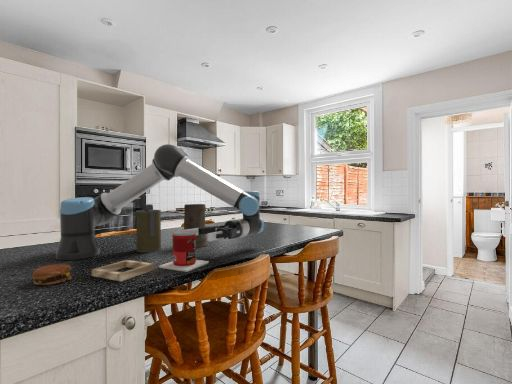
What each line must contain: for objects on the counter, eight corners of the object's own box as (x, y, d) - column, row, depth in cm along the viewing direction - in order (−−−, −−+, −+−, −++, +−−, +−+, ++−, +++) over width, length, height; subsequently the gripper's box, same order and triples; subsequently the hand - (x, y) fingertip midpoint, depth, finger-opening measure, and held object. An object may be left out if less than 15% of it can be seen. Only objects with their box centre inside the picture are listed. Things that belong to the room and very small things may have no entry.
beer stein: (204, 248, 128) (204, 203, 129) (180, 248, 128) (180, 203, 129) (210, 243, 143) (210, 204, 144) (189, 243, 143) (189, 204, 145)
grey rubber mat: (158, 267, 97) (158, 265, 97) (182, 259, 108) (182, 258, 108) (187, 271, 92) (187, 269, 92) (208, 262, 102) (208, 261, 102)
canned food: (190, 266, 95) (190, 234, 95) (168, 265, 97) (168, 233, 96) (199, 261, 103) (199, 230, 102) (179, 260, 104) (178, 230, 104)
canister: (133, 249, 127) (133, 204, 126) (157, 246, 133) (157, 203, 133) (139, 253, 118) (139, 205, 118) (164, 250, 124) (164, 204, 124)
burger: (34, 280, 85) (34, 264, 85) (71, 274, 90) (71, 260, 90) (30, 289, 77) (30, 272, 77) (71, 283, 82) (71, 267, 82)
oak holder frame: (91, 275, 88) (91, 269, 88) (126, 265, 100) (126, 259, 100) (120, 281, 82) (120, 274, 82) (154, 269, 94) (154, 263, 94)
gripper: (259, 240, 111) (219, 250, 95) (216, 234, 127) (175, 242, 110) (259, 221, 111) (219, 227, 94) (215, 218, 127) (175, 222, 110)
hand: (195, 235), depth 102 cm, fingers open, 13 cm apart
